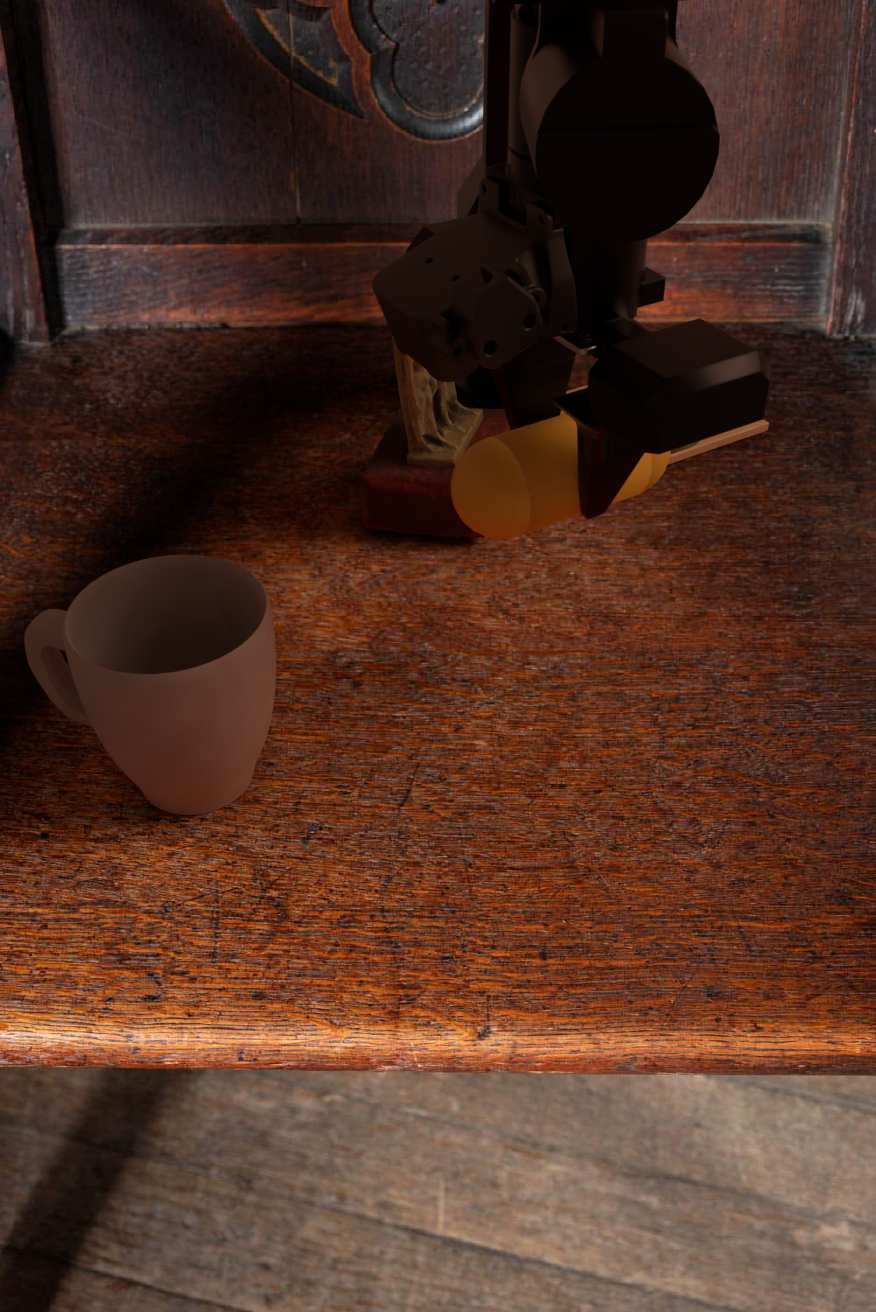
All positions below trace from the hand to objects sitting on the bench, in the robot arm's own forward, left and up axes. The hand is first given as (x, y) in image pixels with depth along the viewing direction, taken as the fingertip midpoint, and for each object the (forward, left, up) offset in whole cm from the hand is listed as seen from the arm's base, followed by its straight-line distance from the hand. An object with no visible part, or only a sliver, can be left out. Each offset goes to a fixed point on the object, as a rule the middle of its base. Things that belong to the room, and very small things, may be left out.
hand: (561, 490), depth 58 cm
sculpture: (-17, +4, -11) cm, 21 cm away
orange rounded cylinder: (0, +1, -1) cm, 1 cm away
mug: (-4, -20, -11) cm, 23 cm away
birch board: (-19, +19, -11) cm, 29 cm away
